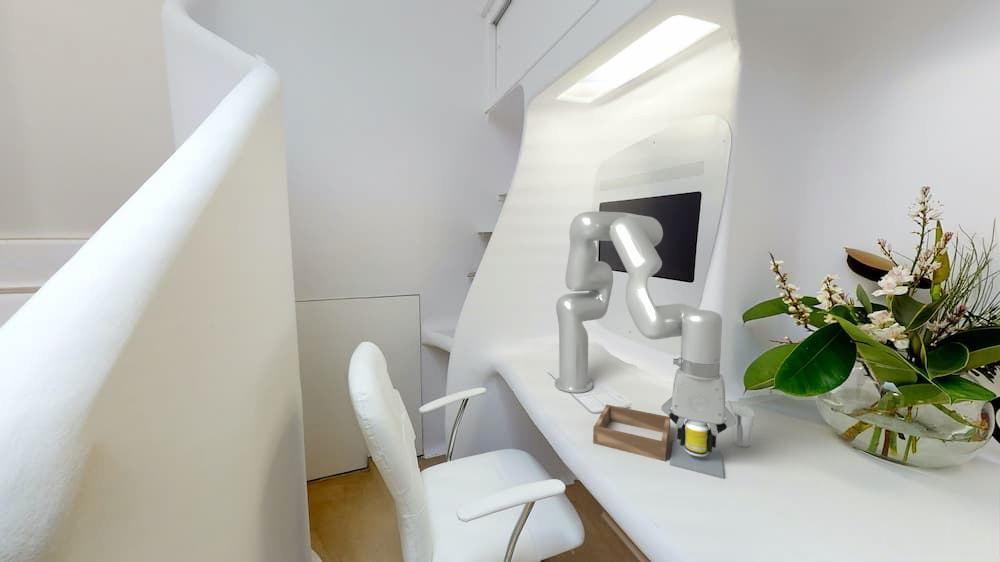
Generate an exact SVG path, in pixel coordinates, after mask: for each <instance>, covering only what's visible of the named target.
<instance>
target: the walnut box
mask: <svg viewBox="0 0 1000 562" xmlns="http://www.w3.org/2000/svg"><path fill="white" fill-rule="evenodd" d="M609 422H614V423H617V424H623V425H626V426H632V427H635V428H636V427H637V428H639V429H641V428H642V429H645V430H650V431H655V432H660V433H662V436H661V440H659V439H655V438H651V437H646V436H641V435H636V434H632V433H628V432H625V431H624V432H622V431H621V430H620V431H619V430H615V429H610V428H607V426H608V424H609ZM592 429H593V431H592V432H593V437H592V439H593V440H592V442H593V444H596V445H600V446H604V447H608V448H611V449H614V450H618V451H623V452H627V453H632V454H634V455H635V454H636V455H639V456H641V457H642V456H643V457H647V458H651V459H655V460H659V461H663V462H666V459H667V453H668V445H669V441H670V436H671V435H670V433H671V419H670V417H669V416H668V415H661V414H658V413H657V414H656V413H652V412H646V411H641V410H636V409H631V408H626V407H621V406H616V405H611V404H606V405H605V406H604V408H603V410H602V411H601V413H600V414H599V417H598V419H597V420H596V422H595V424H594V426H593V428H592Z"/></svg>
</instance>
